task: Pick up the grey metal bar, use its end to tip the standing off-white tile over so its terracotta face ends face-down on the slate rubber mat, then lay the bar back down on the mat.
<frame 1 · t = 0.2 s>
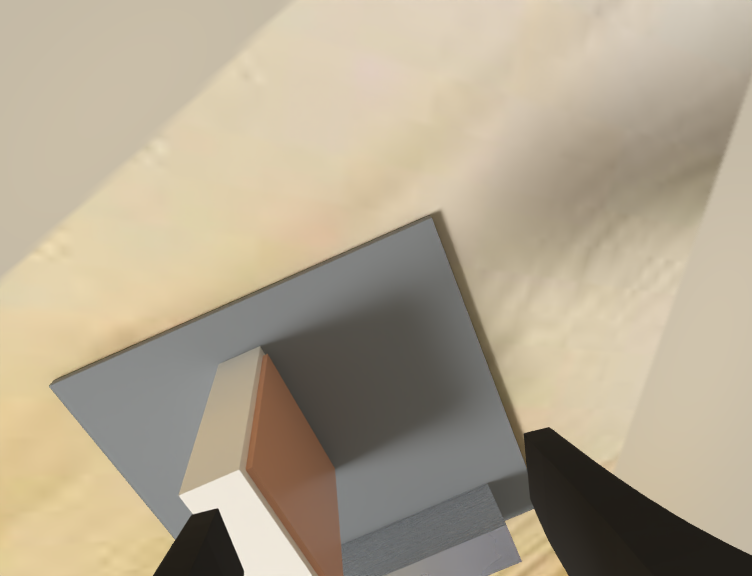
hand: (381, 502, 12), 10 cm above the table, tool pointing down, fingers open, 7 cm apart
mat: (325, 447, 23), on the table
tile: (279, 420, 22), resting on mat
bar: (381, 548, 25), resting on mat
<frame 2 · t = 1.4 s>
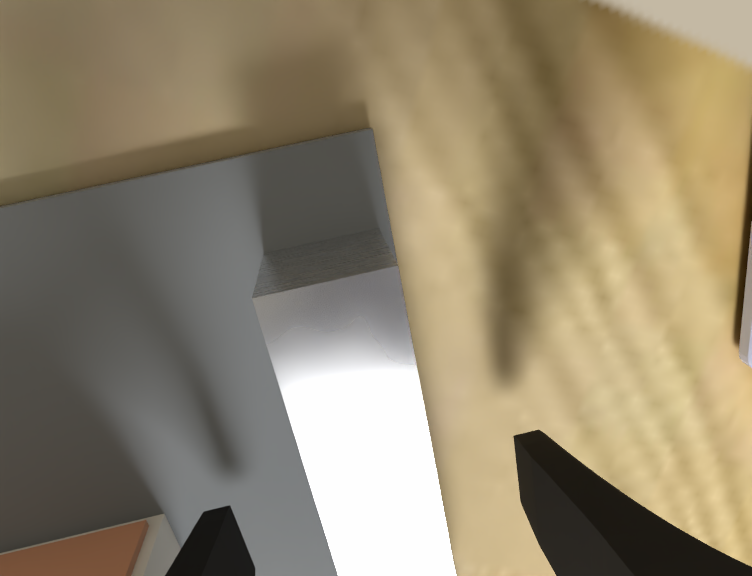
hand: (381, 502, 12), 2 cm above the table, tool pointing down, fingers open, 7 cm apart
mat: (128, 508, 13), on the table
tile: (41, 571, 13), resting on mat, touching gripper
bar: (374, 459, 13), resting on mat
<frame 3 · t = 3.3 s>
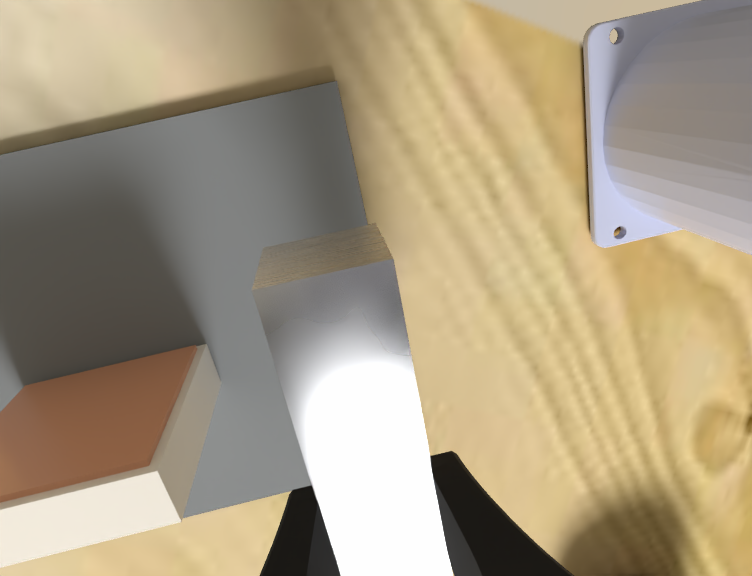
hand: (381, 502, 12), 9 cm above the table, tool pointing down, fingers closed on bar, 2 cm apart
mat: (182, 342, 20), on the table
tile: (125, 385, 20), resting on mat
bar: (371, 450, 13), point 8 cm above the table, touching gripper
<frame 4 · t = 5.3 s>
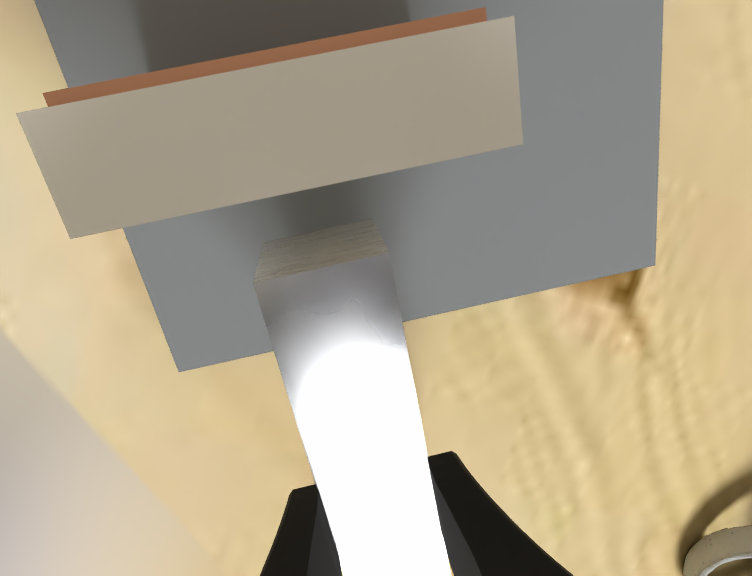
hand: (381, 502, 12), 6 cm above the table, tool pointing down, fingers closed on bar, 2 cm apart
mat: (377, 52, 14), on the table
tile: (295, 109, 14), resting on mat
bar: (369, 439, 14), point 4 cm above the table, touching gripper
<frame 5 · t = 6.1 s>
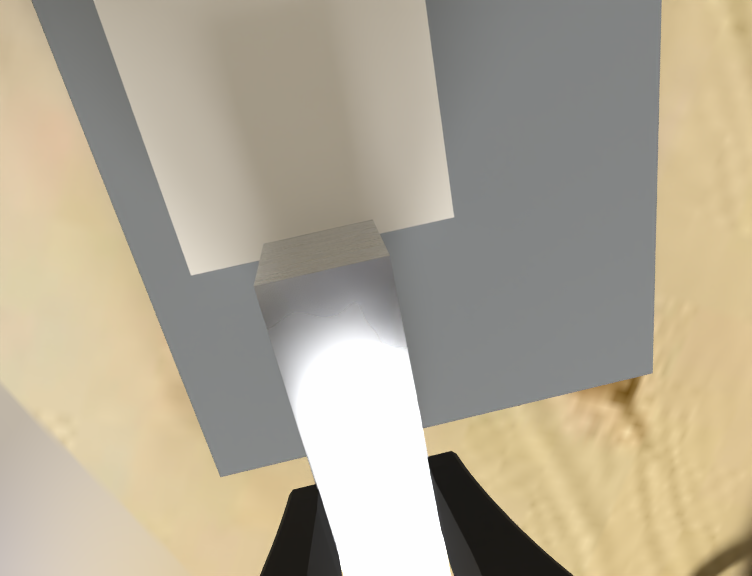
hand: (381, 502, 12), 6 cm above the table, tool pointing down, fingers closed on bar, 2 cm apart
mat: (401, 206, 16), on the table
tile: (323, 236, 14), point 1 cm above the table, tilted 90°, touching mat
bar: (369, 439, 14), point 4 cm above the table, touching gripper
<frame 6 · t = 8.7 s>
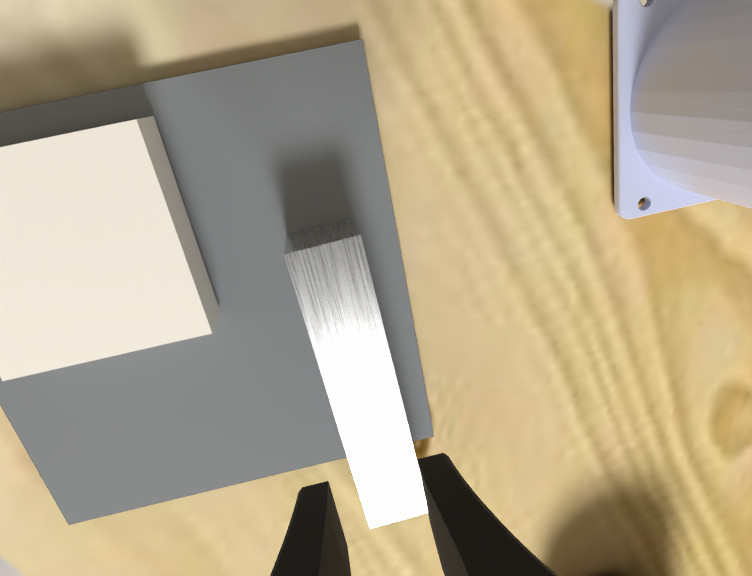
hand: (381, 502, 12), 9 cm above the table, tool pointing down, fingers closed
mat: (196, 311, 19), on the table
tile: (117, 344, 18), point 1 cm above the table, tilted 90°, touching mat
bar: (330, 389, 19), point 2 cm above the table, tilted 90°, touching mat
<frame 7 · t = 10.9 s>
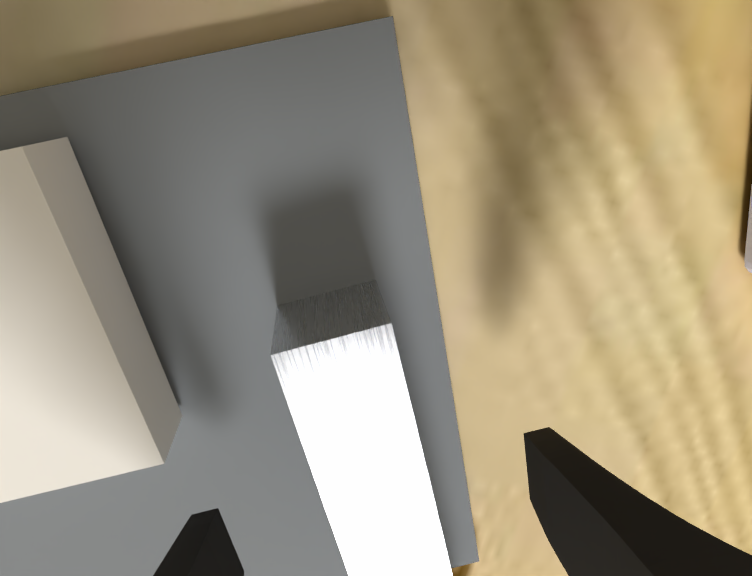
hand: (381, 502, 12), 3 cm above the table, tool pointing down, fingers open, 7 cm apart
mat: (150, 411, 14), on the table
tile: (26, 472, 12), point 1 cm above the table, tilted 90°, touching mat
bar: (341, 522, 14), point 2 cm above the table, tilted 90°, touching mat
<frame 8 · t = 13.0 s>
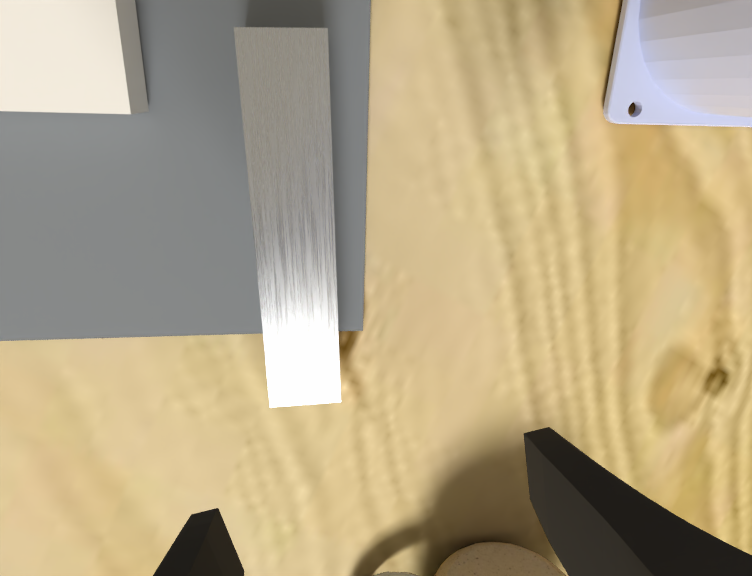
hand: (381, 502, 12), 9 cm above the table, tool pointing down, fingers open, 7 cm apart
mat: (121, 110, 17), on the table
tile: (14, 109, 15), point 1 cm above the table, tilted 90°, touching mat
bar: (257, 233, 17), point 2 cm above the table, tilted 90°, touching mat
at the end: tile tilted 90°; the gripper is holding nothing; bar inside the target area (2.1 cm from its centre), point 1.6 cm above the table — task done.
